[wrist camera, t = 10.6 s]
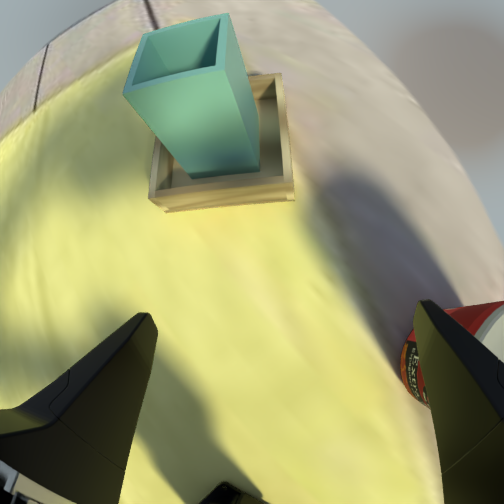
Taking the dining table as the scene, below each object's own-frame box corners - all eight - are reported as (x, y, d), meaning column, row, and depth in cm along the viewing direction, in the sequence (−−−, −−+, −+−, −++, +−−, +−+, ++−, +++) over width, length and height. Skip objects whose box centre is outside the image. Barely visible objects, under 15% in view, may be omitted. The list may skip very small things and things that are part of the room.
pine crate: (294, 200, 25) (292, 182, 21) (166, 213, 26) (148, 198, 23) (284, 96, 27) (281, 72, 24) (176, 113, 29) (163, 93, 25)
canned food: (380, 346, 21) (438, 366, 10) (456, 289, 21) (540, 265, 10) (419, 420, 19) (482, 475, 8) (490, 362, 19) (574, 375, 8)
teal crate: (260, 172, 25) (224, 69, 13) (191, 179, 26) (122, 94, 14) (258, 115, 26) (228, 12, 15) (196, 124, 27) (143, 34, 16)
